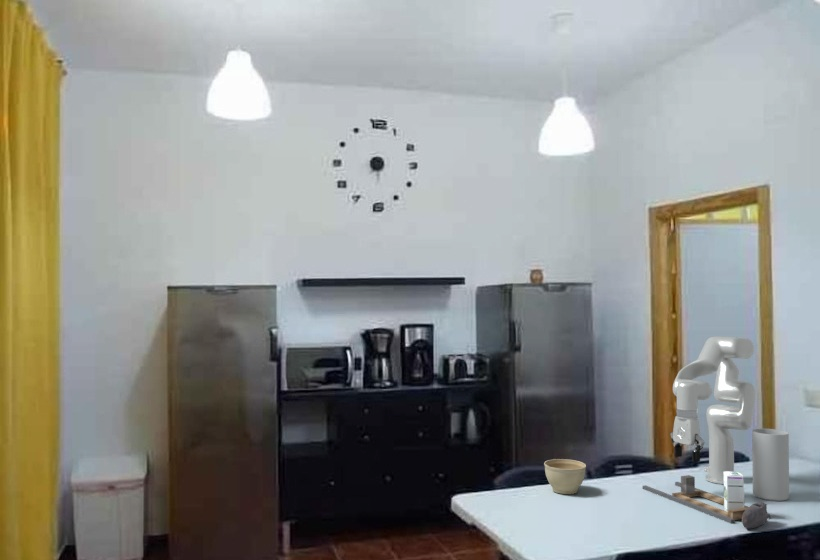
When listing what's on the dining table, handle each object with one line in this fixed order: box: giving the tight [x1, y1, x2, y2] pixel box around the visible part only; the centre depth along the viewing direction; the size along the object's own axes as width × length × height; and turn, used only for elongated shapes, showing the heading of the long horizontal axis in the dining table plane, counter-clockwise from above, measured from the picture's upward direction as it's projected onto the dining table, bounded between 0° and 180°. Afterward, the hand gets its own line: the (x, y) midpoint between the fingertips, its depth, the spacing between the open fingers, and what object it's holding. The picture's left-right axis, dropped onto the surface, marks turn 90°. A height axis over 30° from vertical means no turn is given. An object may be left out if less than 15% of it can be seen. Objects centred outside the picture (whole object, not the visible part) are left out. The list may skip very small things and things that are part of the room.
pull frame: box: [671, 474, 749, 521], centre depth 261 cm, size 30×13×8 cm, turn 20°
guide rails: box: [642, 481, 771, 524], centre depth 267 cm, size 46×18×1 cm, turn 20°
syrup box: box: [723, 471, 745, 512], centre depth 252 cm, size 6×6×14 cm
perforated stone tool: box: [741, 501, 769, 530], centre depth 239 cm, size 15×5×7 cm, turn 129°
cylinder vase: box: [751, 428, 790, 502], centre depth 274 cm, size 12×12×25 cm
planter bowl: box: [543, 458, 587, 495], centre depth 282 cm, size 16×16×11 cm
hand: (686, 459), depth 274 cm, fingers open, 9 cm apart
